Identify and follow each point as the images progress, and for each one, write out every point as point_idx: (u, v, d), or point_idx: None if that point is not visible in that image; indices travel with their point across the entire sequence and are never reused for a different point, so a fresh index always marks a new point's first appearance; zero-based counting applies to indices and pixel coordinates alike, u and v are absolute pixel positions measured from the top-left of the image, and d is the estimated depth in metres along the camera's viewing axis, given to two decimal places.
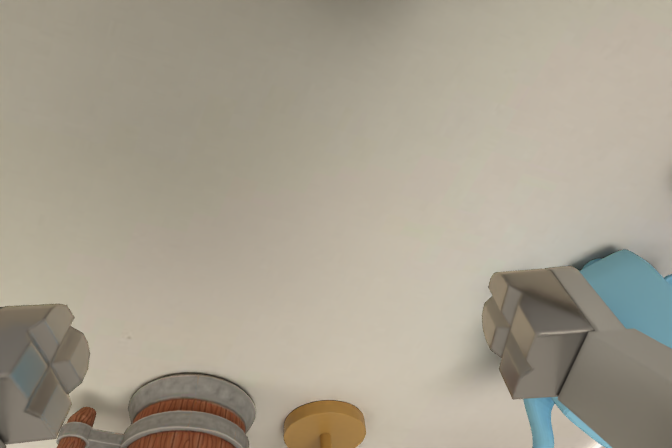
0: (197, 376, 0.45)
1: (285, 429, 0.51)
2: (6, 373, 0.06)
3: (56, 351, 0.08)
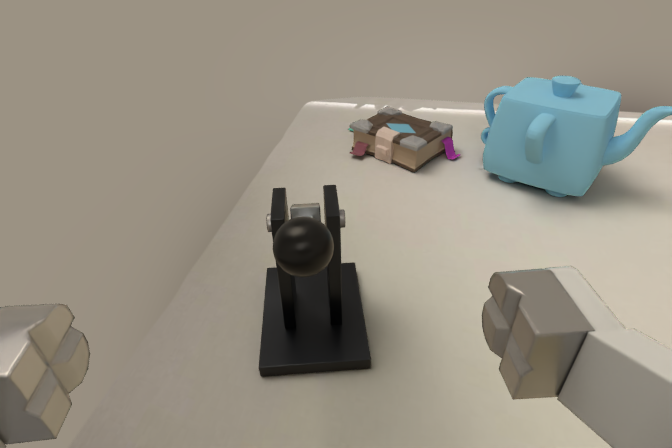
0: None
1: None
2: (6, 374, 0.06)
3: (56, 351, 0.08)
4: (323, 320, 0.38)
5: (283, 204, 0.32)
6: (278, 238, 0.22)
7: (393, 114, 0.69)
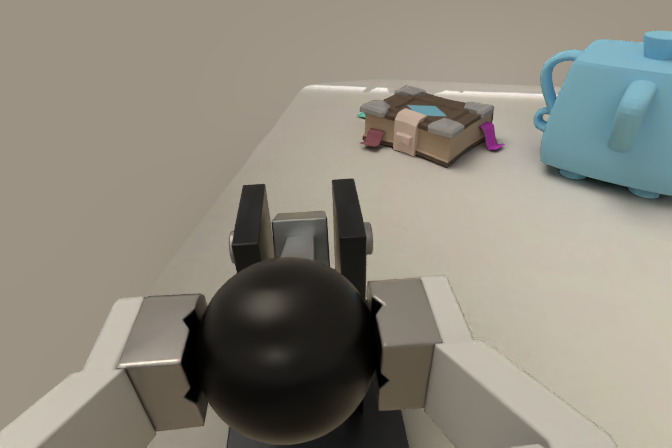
0: None
1: None
2: (177, 361, 0.07)
3: None
4: None
5: (259, 214, 0.17)
6: (206, 331, 0.07)
7: (415, 94, 0.54)
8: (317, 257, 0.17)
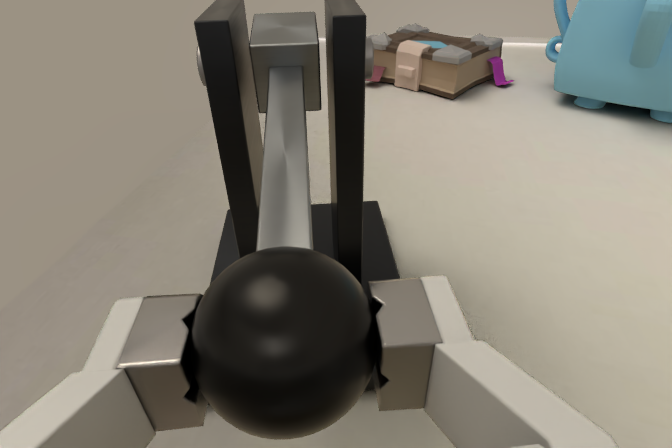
0: None
1: None
2: (177, 360, 0.07)
3: None
4: None
5: (232, 8, 0.14)
6: (200, 366, 0.06)
7: (418, 31, 0.50)
8: (306, 90, 0.15)
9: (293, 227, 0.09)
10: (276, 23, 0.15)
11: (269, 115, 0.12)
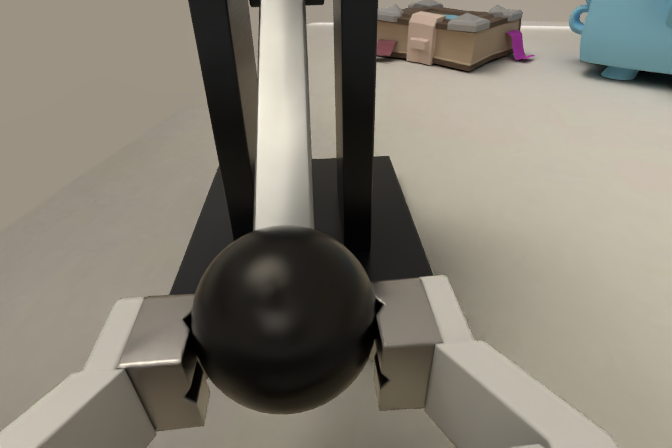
0: None
1: None
2: (178, 360, 0.07)
3: None
4: None
5: None
6: (203, 359, 0.07)
7: (431, 6, 0.48)
8: None
9: (292, 192, 0.08)
10: None
11: (263, 30, 0.10)
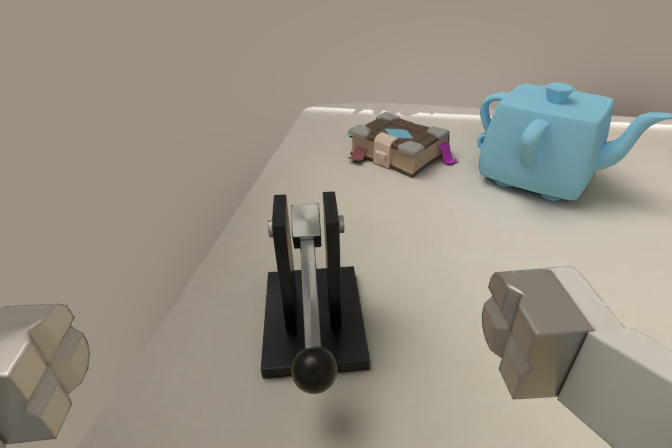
0: None
1: None
2: (7, 373, 0.06)
3: (56, 351, 0.08)
4: (323, 323, 0.39)
5: (284, 210, 0.33)
6: (296, 381, 0.29)
7: (391, 119, 0.70)
8: (315, 243, 0.35)
9: (314, 335, 0.31)
10: (302, 216, 0.34)
11: (303, 277, 0.32)
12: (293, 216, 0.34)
